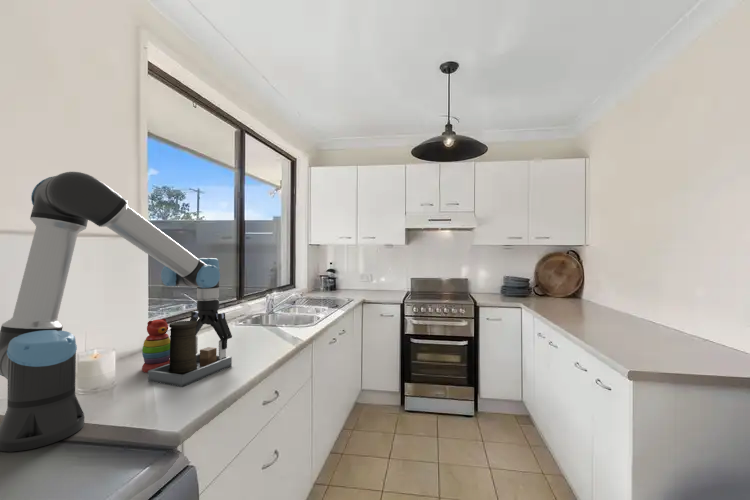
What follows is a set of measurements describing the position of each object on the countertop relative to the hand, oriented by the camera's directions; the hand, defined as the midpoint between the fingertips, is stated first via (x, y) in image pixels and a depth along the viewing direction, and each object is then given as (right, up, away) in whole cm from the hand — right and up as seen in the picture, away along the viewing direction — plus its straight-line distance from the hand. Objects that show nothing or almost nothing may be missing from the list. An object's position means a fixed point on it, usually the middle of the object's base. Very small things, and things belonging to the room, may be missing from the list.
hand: (207, 356), depth 131 cm
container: (-4, -3, -10) cm, 12 cm away
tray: (-2, -4, -7) cm, 8 cm away
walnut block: (0, -3, 0) cm, 3 cm away
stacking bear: (-19, -4, 0) cm, 19 cm away
